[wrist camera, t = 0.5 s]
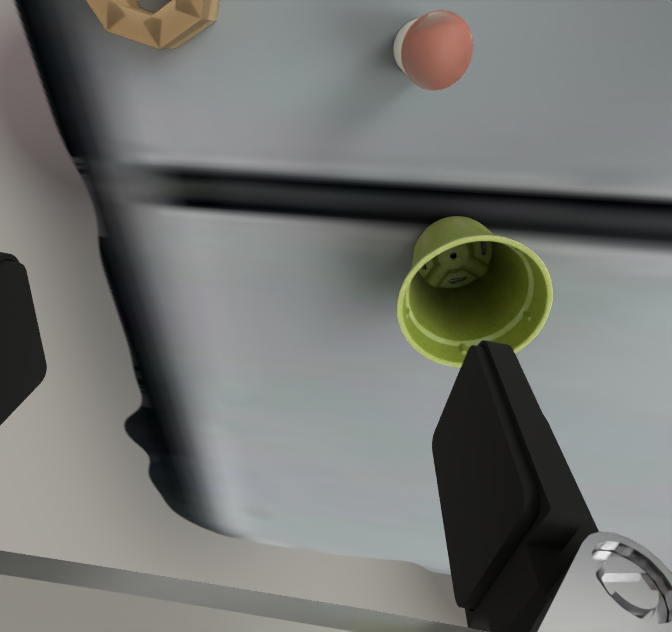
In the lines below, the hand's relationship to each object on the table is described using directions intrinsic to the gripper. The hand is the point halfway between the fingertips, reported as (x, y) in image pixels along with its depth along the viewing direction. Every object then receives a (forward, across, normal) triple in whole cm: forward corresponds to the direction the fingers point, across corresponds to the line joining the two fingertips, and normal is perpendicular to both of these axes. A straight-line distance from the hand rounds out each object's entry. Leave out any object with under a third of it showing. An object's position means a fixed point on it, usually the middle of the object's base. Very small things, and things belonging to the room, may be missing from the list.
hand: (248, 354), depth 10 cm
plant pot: (+26, -11, +7) cm, 29 cm away
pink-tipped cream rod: (+26, -4, -6) cm, 27 cm away
